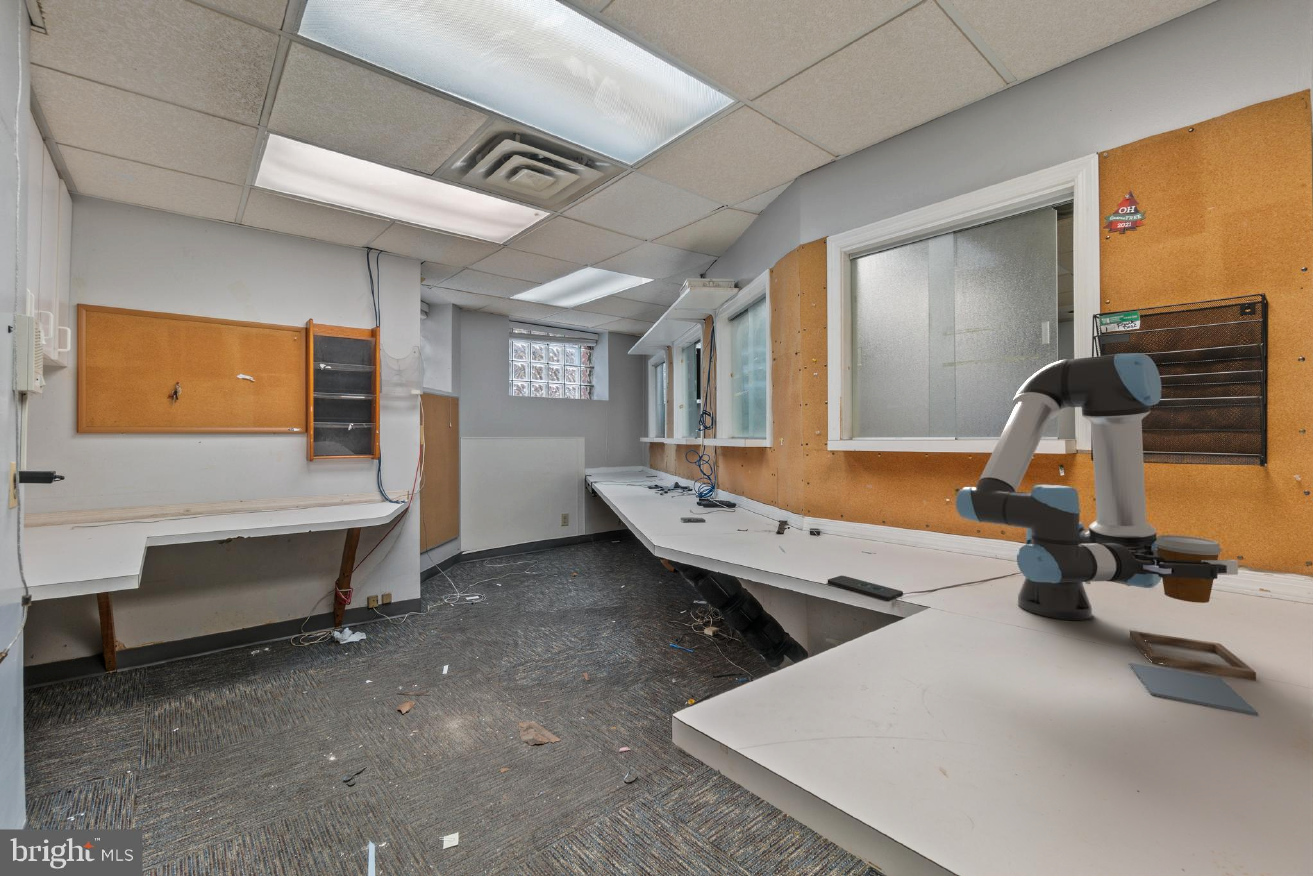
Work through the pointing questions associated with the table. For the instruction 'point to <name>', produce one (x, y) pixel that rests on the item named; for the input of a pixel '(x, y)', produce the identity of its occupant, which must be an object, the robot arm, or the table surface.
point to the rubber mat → (1191, 688)
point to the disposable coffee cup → (1187, 551)
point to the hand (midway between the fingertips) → (1208, 560)
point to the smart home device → (865, 588)
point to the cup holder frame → (1234, 670)
